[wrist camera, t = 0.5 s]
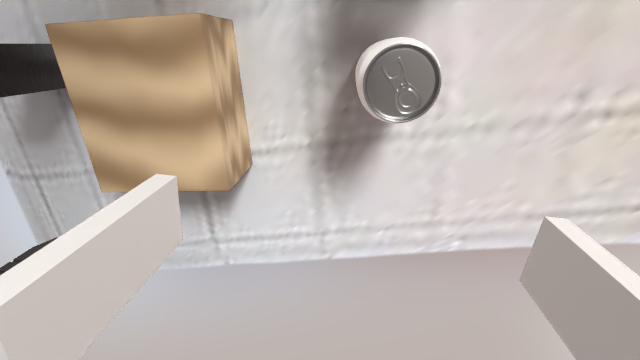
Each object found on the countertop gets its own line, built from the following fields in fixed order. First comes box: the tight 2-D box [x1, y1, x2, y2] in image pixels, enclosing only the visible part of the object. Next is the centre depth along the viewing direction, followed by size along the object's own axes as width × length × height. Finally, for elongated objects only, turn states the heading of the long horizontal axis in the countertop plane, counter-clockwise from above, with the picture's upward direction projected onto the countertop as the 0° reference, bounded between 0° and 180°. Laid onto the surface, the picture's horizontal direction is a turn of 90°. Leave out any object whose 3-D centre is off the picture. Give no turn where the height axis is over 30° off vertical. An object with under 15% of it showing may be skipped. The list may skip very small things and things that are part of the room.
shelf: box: [45, 13, 252, 192], centre depth 34 cm, size 16×14×8 cm
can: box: [355, 37, 441, 123], centre depth 29 cm, size 6×6×12 cm
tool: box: [0, 44, 66, 97], centre depth 32 cm, size 4×20×10 cm, turn 93°
